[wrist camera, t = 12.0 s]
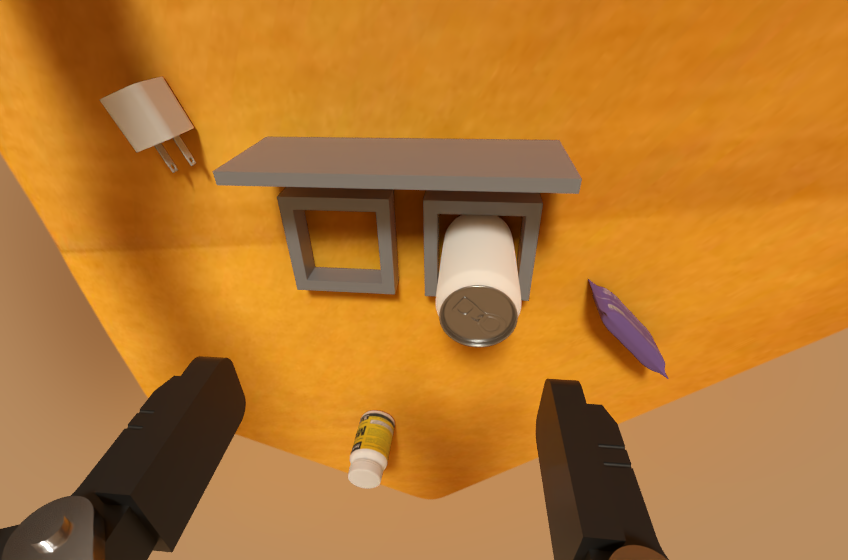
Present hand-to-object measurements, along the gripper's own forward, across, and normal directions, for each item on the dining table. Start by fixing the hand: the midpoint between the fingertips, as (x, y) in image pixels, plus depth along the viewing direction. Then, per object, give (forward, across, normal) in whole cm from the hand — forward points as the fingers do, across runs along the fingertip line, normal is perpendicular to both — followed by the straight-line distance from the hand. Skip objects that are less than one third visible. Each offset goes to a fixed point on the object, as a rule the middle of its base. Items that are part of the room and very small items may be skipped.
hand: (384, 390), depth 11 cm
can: (+29, -4, +11) cm, 31 cm away
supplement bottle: (+28, +8, +39) cm, 49 cm away
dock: (+29, +3, +9) cm, 30 cm away
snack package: (+28, -19, +19) cm, 39 cm away
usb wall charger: (+29, +24, +1) cm, 38 cm away
